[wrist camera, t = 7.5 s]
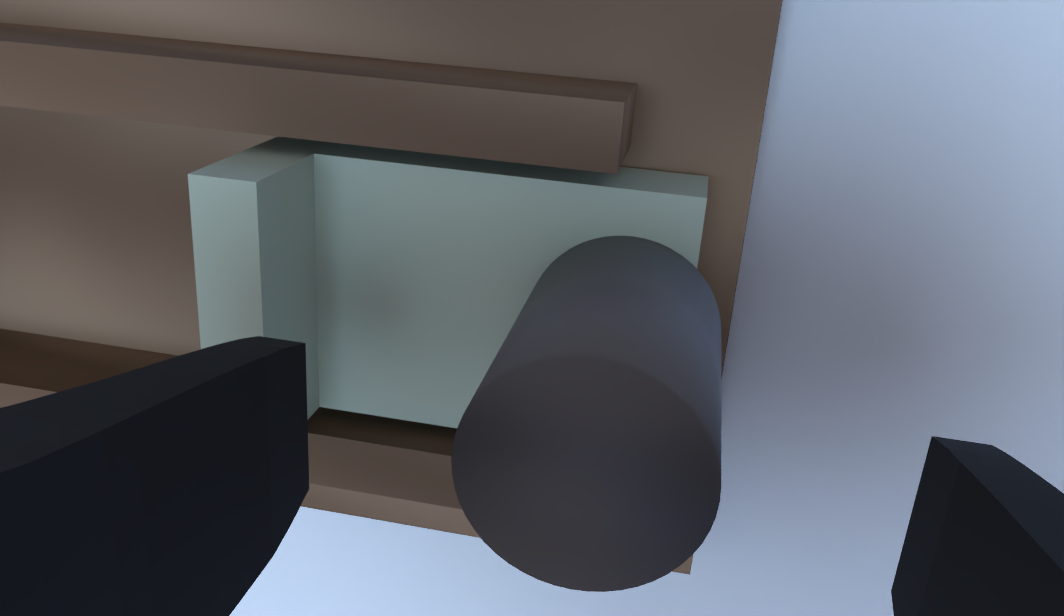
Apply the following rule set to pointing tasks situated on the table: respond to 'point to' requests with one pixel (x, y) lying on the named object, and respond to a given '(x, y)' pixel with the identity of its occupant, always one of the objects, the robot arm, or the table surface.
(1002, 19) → the table surface
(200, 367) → the robot arm
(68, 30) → the base
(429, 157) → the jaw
